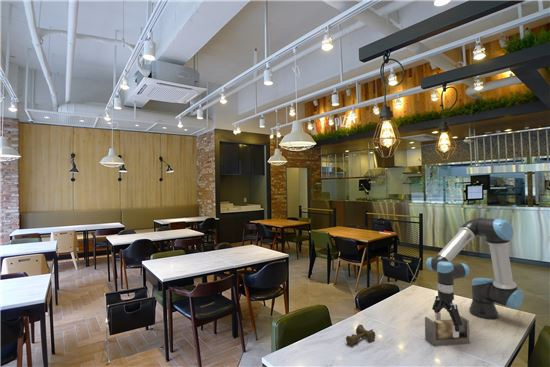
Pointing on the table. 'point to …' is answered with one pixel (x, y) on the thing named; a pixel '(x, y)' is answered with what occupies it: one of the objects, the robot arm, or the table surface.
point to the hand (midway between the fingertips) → (446, 330)
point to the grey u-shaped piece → (432, 339)
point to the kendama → (360, 335)
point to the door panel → (444, 329)
